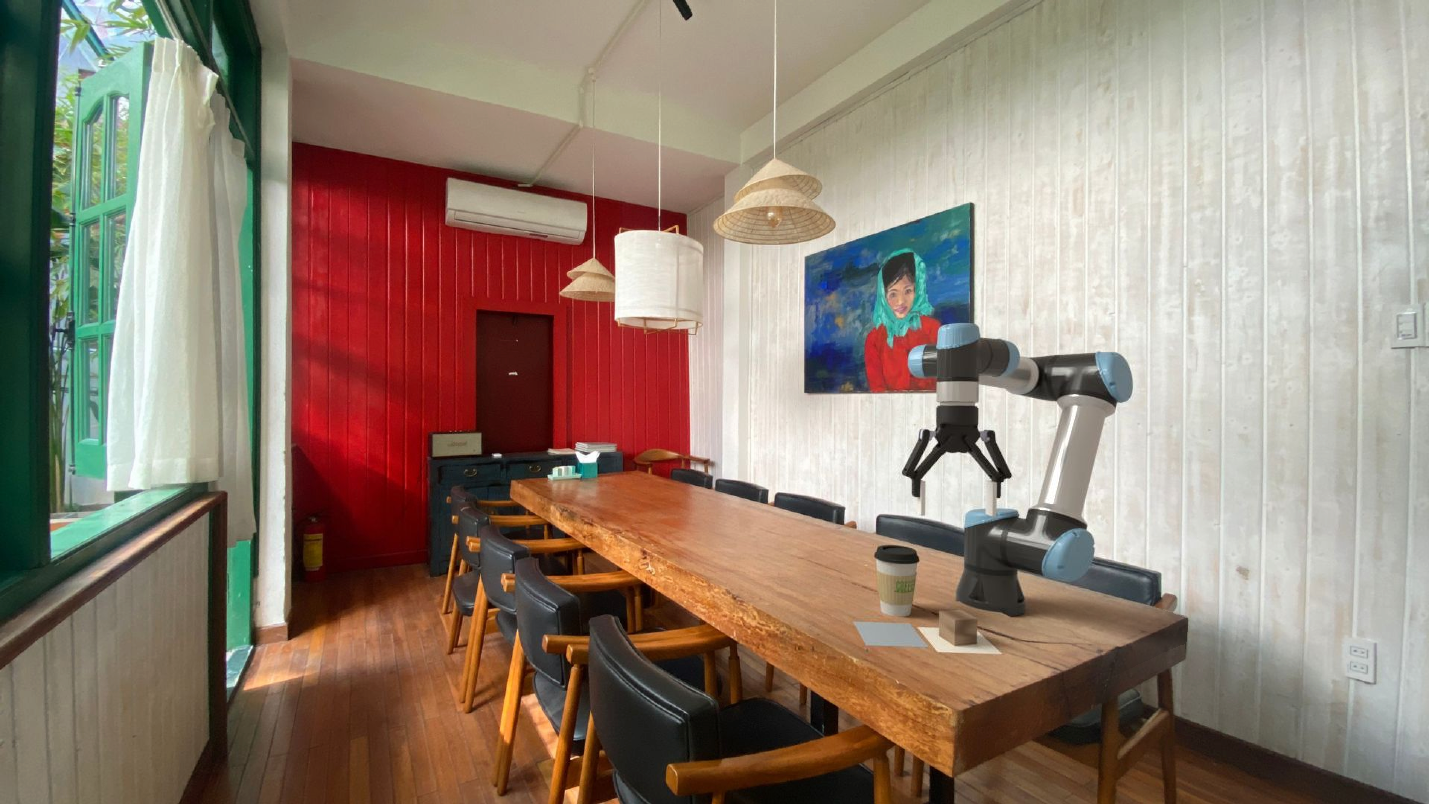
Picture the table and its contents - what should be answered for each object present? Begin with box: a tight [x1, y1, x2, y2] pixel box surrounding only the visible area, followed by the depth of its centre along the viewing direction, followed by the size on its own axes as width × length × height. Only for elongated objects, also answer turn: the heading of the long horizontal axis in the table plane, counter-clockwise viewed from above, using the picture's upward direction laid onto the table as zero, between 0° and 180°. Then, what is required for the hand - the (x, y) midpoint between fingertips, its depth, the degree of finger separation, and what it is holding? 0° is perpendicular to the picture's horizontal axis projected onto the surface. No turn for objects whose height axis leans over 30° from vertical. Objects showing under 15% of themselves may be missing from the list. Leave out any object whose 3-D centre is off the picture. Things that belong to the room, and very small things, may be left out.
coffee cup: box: [873, 544, 921, 618], centre depth 129 cm, size 10×10×15 cm
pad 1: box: [853, 621, 930, 651], centre depth 116 cm, size 12×12×1 cm
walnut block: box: [938, 609, 978, 646], centre depth 113 cm, size 5×5×5 cm
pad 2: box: [917, 626, 1003, 655], centre depth 113 cm, size 12×12×1 cm
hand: (955, 515), depth 109 cm, fingers open, 13 cm apart
